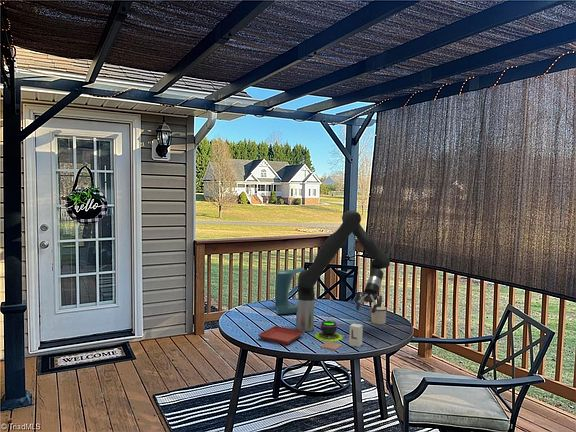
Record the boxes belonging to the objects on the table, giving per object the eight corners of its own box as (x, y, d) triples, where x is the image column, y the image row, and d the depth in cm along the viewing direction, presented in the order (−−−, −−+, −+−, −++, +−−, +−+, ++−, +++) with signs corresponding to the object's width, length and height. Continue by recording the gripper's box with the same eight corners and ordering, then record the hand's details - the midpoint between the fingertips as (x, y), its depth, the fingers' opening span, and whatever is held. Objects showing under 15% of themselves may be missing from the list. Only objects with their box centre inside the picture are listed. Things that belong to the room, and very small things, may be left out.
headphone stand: (315, 307, 284) (314, 266, 285) (311, 316, 257) (310, 271, 257) (277, 307, 288) (276, 267, 288) (270, 316, 260) (269, 272, 261)
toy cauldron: (348, 337, 224) (348, 316, 223) (331, 343, 213) (331, 322, 212) (326, 330, 234) (326, 311, 234) (308, 336, 223) (309, 316, 223)
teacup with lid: (389, 323, 251) (389, 304, 251) (378, 325, 246) (379, 306, 246) (375, 318, 261) (375, 300, 261) (364, 320, 256) (364, 301, 256)
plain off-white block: (349, 345, 211) (349, 325, 210) (352, 342, 215) (353, 323, 215) (358, 347, 208) (359, 327, 208) (362, 344, 212) (362, 325, 212)
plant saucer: (287, 347, 206) (288, 341, 206) (257, 340, 215) (257, 334, 215) (304, 337, 222) (304, 331, 222) (275, 331, 231) (275, 325, 230)
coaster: (320, 347, 206) (320, 345, 206) (327, 342, 213) (327, 341, 213) (335, 350, 202) (335, 349, 202) (341, 346, 209) (341, 344, 209)
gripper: (359, 280, 232) (350, 305, 222) (384, 283, 224) (376, 309, 215) (362, 288, 236) (354, 312, 227) (387, 291, 229) (379, 317, 220)
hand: (365, 311), depth 221 cm, fingers open, 8 cm apart
